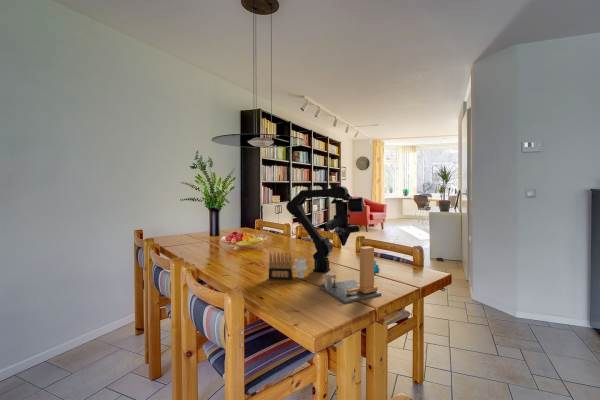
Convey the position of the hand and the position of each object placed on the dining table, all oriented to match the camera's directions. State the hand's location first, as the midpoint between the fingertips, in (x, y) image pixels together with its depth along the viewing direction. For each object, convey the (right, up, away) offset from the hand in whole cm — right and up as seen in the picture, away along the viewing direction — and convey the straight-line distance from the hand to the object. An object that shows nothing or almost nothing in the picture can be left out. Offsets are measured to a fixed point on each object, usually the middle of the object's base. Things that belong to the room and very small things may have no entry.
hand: (343, 245), depth 137 cm
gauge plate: (-1, -14, -24) cm, 28 cm away
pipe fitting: (-20, -14, -5) cm, 25 cm away
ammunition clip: (-29, -14, -7) cm, 33 cm away
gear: (+14, -13, +3) cm, 20 cm away
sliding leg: (+2, -13, -27) cm, 30 cm away
